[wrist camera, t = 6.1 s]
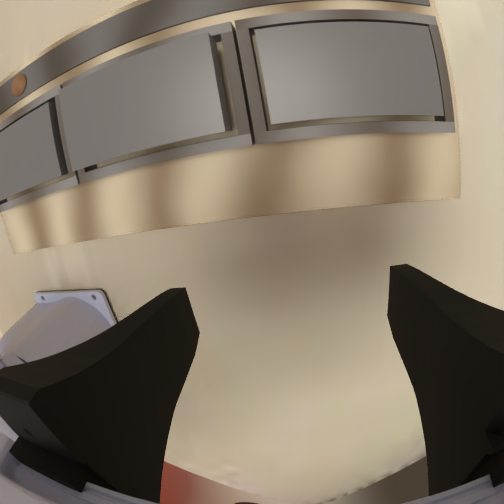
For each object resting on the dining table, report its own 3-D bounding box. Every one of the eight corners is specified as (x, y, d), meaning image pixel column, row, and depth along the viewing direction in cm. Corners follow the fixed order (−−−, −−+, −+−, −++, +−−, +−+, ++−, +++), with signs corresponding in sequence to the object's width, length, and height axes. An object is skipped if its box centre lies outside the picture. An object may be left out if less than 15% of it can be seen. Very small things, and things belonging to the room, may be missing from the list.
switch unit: (22, 248, 22) (4, 260, 20) (-11, 98, 17) (-31, 101, 14) (451, 193, 16) (471, 204, 14) (417, -23, 11) (431, -38, 8)
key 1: (272, 124, 15) (271, 124, 14) (257, 37, 13) (254, 29, 12) (432, 115, 13) (444, 116, 12) (417, 32, 11) (428, 26, 10)
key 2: (6, 198, 19) (-7, 203, 17) (-6, 142, 17) (-19, 146, 15) (75, 171, 17) (61, 175, 16) (62, 101, 15) (48, 102, 14)
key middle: (87, 166, 16) (72, 171, 14) (74, 90, 14) (58, 90, 13) (231, 130, 14) (225, 131, 13) (215, 39, 12) (207, 32, 11)
